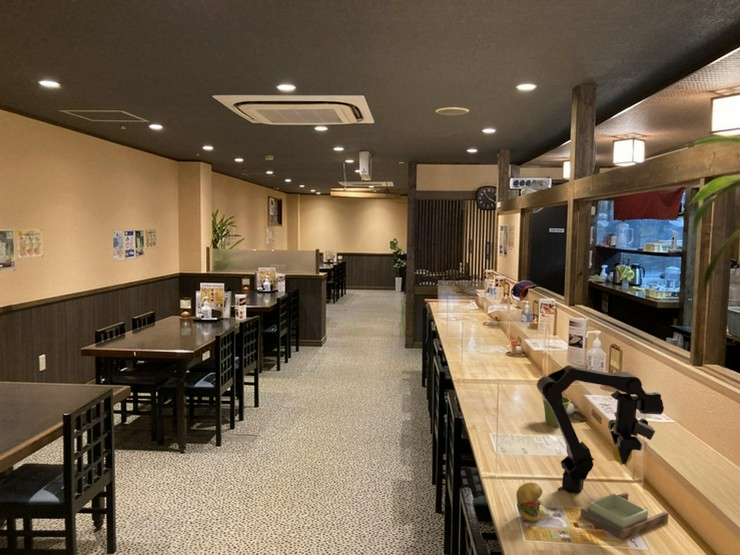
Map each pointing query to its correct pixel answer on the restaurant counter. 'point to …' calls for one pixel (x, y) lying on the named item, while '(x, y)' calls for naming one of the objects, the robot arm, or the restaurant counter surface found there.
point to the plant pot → (549, 414)
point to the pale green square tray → (618, 510)
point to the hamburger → (529, 501)
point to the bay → (626, 531)
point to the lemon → (617, 456)
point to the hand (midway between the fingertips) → (621, 459)
